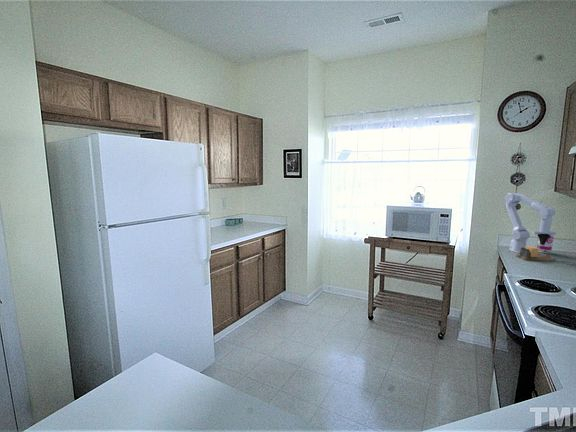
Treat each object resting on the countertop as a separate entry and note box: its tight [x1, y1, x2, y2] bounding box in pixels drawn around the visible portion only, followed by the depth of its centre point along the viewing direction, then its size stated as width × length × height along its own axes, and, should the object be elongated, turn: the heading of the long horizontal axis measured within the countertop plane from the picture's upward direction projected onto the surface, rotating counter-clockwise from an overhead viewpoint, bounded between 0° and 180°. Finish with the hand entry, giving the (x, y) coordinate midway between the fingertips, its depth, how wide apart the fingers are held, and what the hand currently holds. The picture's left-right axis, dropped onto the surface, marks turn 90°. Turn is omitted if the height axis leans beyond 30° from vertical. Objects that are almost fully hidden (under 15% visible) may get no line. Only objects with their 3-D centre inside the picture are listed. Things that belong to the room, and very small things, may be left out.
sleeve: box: [525, 245, 539, 257], centre depth 211 cm, size 6×4×6 cm
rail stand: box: [515, 247, 556, 262], centre depth 211 cm, size 10×19×7 cm, turn 88°
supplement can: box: [536, 233, 555, 253], centre depth 226 cm, size 8×8×15 cm
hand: (542, 244), depth 213 cm, fingers closed
